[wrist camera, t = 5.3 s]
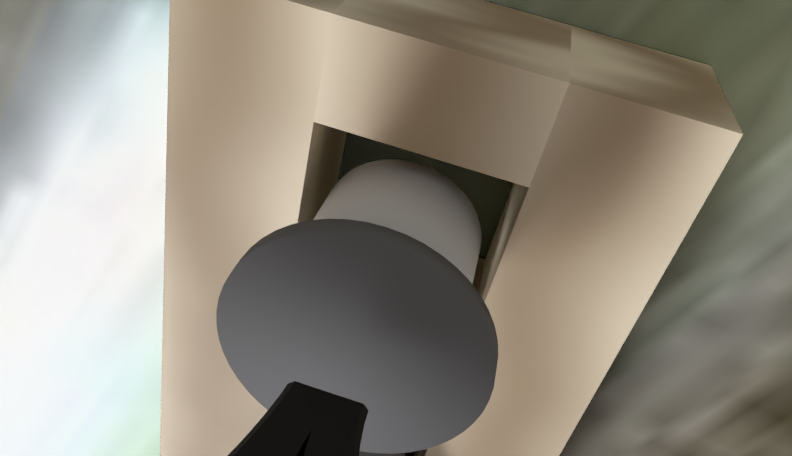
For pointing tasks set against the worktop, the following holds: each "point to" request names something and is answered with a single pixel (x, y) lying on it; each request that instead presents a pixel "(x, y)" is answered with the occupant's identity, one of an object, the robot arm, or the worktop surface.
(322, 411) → the robot arm
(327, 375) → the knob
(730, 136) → the knob mount
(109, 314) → the worktop surface
